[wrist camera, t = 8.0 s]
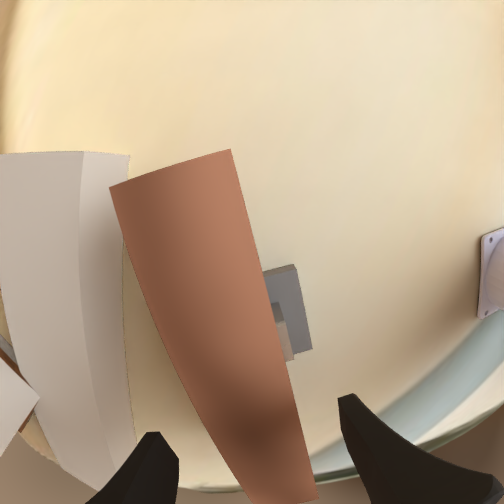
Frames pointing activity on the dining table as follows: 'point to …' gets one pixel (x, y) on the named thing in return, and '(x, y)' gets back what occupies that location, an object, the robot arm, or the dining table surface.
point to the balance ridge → (288, 310)
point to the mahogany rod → (217, 319)
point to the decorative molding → (69, 302)
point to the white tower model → (13, 396)
